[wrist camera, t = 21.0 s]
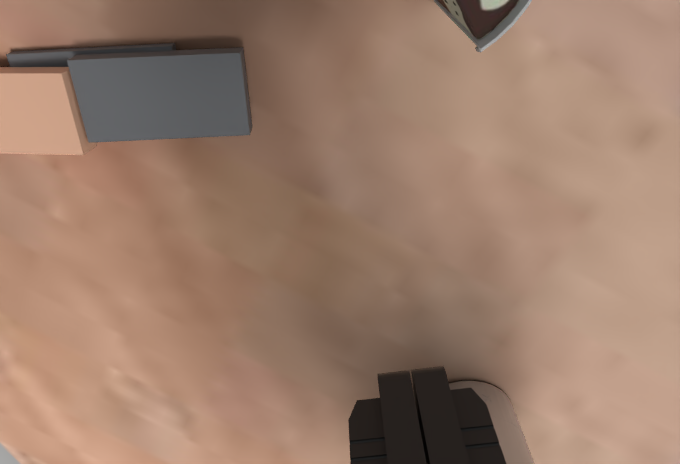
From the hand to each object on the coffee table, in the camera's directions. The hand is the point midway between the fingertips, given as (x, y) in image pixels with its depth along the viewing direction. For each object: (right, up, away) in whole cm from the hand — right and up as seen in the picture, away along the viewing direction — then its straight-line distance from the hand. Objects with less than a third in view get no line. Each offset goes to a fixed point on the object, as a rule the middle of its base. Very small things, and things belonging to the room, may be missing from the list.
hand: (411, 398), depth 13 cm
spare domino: (-17, +11, +21) cm, 30 cm away
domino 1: (-7, +12, +22) cm, 26 cm away
